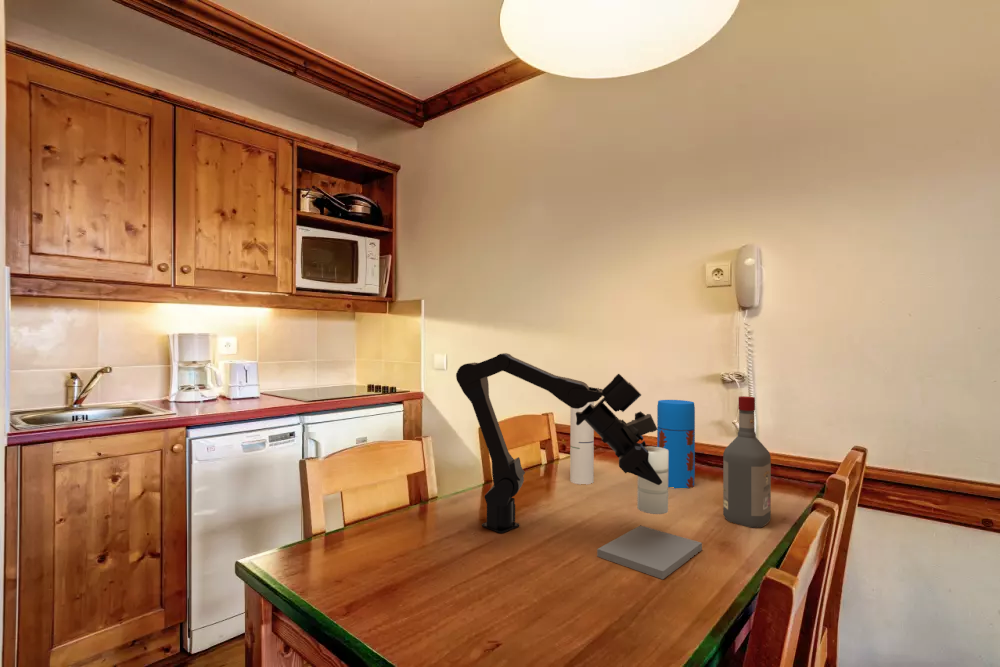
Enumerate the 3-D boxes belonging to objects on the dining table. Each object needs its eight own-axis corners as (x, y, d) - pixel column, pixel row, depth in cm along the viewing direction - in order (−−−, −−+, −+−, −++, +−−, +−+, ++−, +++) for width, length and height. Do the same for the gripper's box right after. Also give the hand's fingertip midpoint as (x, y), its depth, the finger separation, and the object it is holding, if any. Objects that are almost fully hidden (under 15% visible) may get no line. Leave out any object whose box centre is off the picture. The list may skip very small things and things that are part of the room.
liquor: (773, 520, 122) (773, 397, 122) (760, 530, 116) (760, 400, 116) (734, 511, 129) (734, 394, 129) (720, 520, 122) (720, 397, 123)
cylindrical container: (593, 485, 151) (593, 402, 151) (569, 483, 152) (569, 401, 153) (593, 478, 158) (594, 399, 158) (570, 477, 159) (571, 398, 160)
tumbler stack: (653, 516, 105) (653, 454, 105) (631, 507, 111) (631, 448, 111) (674, 511, 108) (674, 450, 109) (651, 502, 114) (652, 445, 114)
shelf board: (662, 579, 92) (662, 571, 92) (597, 556, 101) (597, 548, 101) (701, 549, 105) (701, 542, 105) (640, 531, 114) (640, 525, 114)
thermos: (649, 481, 156) (649, 400, 156) (675, 477, 160) (675, 399, 161) (675, 490, 146) (675, 404, 146) (702, 486, 150) (702, 403, 151)
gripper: (636, 407, 102) (693, 465, 99) (633, 396, 120) (681, 445, 117) (596, 443, 103) (652, 501, 101) (599, 428, 121) (646, 477, 119)
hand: (659, 479), depth 109 cm, fingers closed on tumbler stack, 6 cm apart
